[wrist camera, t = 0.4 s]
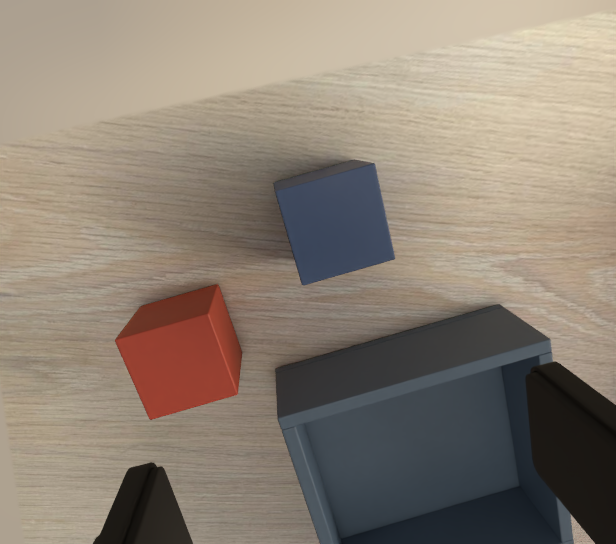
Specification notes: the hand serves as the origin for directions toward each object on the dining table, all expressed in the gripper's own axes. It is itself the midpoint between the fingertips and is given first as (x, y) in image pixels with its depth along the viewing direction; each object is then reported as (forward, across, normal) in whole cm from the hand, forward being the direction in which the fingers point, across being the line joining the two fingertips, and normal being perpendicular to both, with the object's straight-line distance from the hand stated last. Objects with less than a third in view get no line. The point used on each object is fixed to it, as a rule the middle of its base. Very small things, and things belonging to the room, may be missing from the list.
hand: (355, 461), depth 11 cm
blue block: (+17, -2, -3) cm, 18 cm away
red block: (+17, +8, +2) cm, 19 cm away
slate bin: (+18, -5, +14) cm, 23 cm away
